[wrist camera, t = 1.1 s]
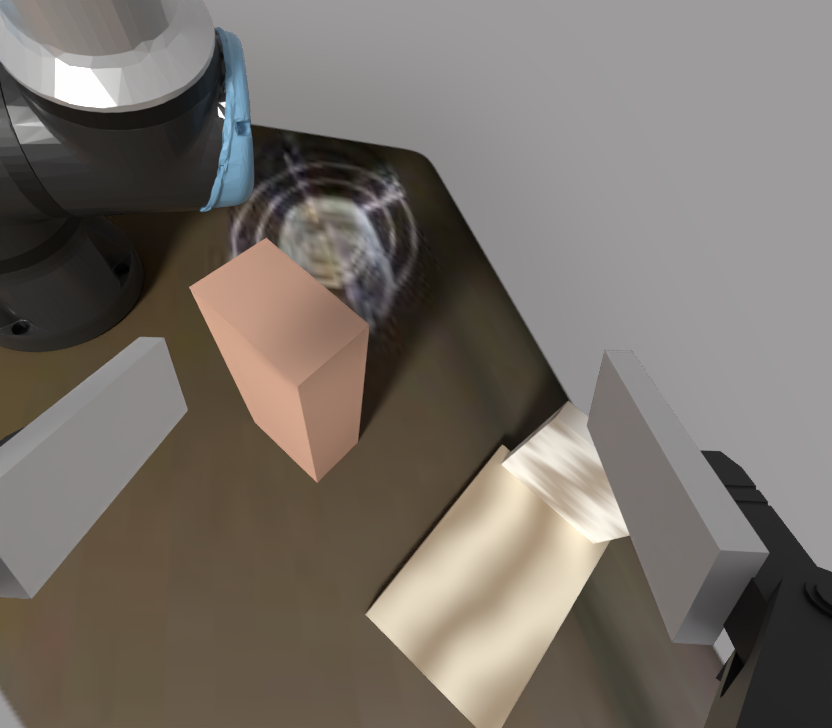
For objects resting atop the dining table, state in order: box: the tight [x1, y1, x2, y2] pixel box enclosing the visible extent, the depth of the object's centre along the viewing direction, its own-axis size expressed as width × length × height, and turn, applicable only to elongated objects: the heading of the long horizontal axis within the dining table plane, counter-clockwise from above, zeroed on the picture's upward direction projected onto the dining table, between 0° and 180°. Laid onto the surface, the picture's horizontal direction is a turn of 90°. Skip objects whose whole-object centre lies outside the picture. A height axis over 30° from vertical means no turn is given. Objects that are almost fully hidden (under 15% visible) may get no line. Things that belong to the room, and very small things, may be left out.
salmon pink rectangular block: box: [190, 238, 370, 483], centre depth 33 cm, size 8×5×20 cm, turn 48°
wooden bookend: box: [365, 401, 630, 728], centre depth 32 cm, size 12×18×14 cm, turn 138°
